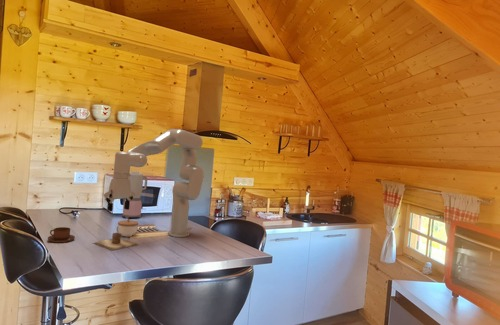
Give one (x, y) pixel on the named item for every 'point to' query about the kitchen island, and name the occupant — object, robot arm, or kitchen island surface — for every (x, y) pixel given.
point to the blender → (135, 195)
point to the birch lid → (115, 242)
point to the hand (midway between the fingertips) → (118, 210)
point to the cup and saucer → (61, 235)
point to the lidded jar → (127, 227)
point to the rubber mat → (114, 249)
